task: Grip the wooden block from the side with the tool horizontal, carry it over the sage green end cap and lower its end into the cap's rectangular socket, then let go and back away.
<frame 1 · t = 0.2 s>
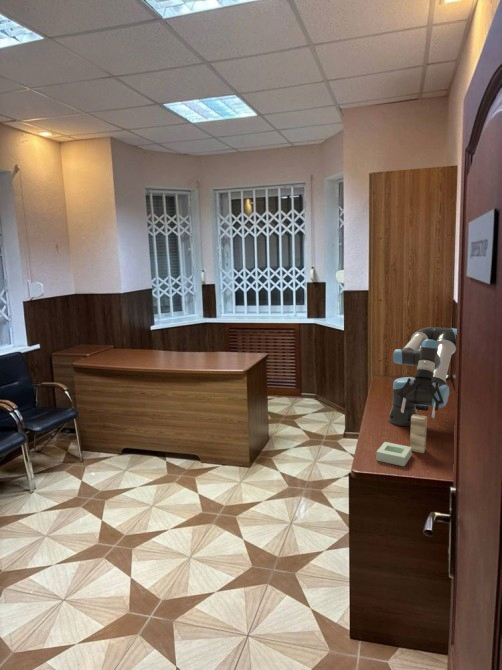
hand: (417, 414, 215), 15 cm above the table, tool tilted 35°, fingers open, 13 cm apart
wooden block: (417, 450, 213), on the table
disk drive: (417, 406, 273), on the table
end cap: (393, 457, 206), on the table
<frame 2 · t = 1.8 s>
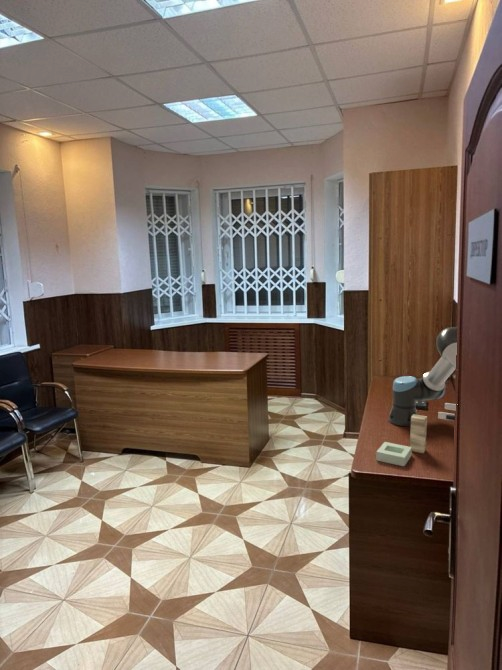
hand: (441, 410, 204), 21 cm above the table, tool horizontal, fingers open, 13 cm apart
nothing on the table moved.
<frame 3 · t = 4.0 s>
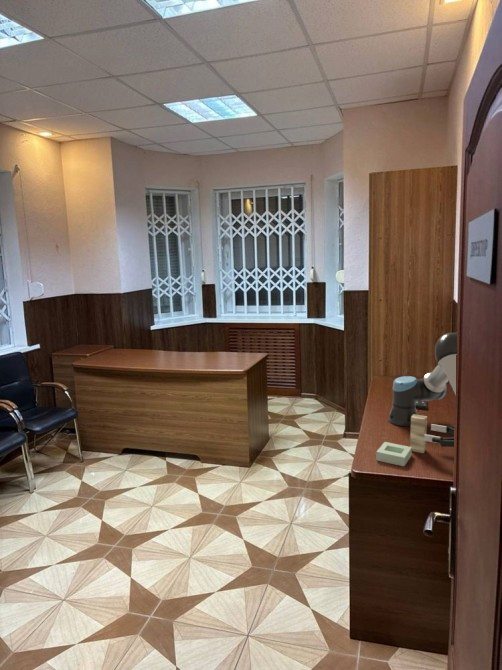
hand: (427, 432, 208), 10 cm above the table, tool horizontal, fingers open, 13 cm apart
nothing on the table moved.
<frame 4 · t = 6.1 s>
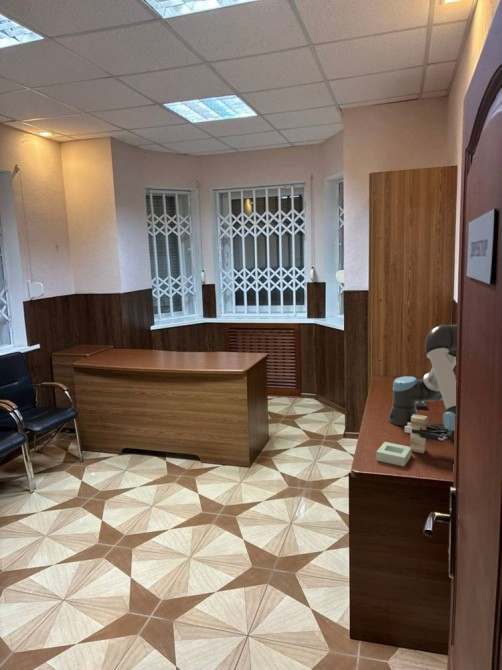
hand: (406, 427, 214), 10 cm above the table, tool horizontal, fingers closed on wooden block, 4 cm apart
wooden block: (417, 450, 213), on the table, touching gripper
everything else where it was.
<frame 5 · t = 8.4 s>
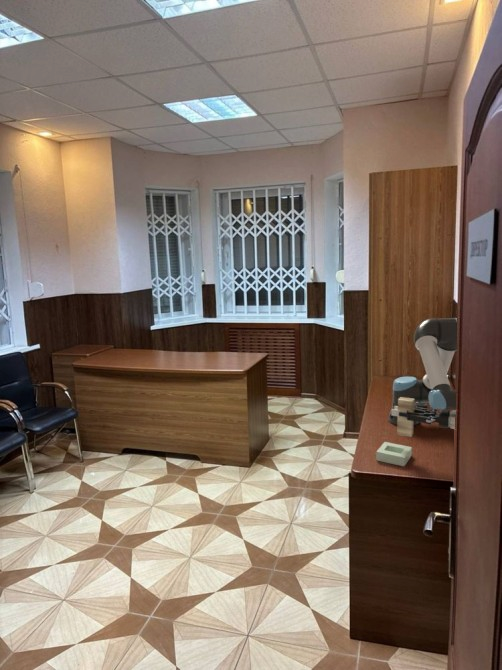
hand: (393, 410, 206), 20 cm above the table, tool horizontal, fingers closed on wooden block, 4 cm apart
wooden block: (405, 434, 205), point 10 cm above the table, touching gripper
everything else where it was.
when the fingers open (12 cm above the table, at t = 11.0 s): wooden block stays where it is, resting on end cap.
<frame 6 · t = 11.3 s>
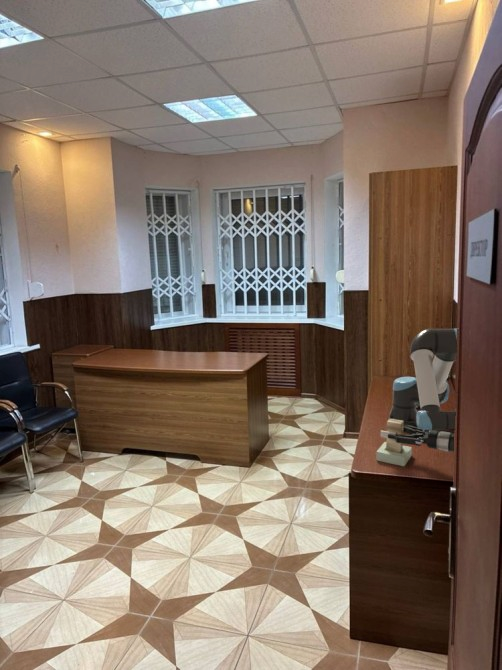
hand: (384, 430, 206), 12 cm above the table, tool horizontal, fingers open, 8 cm apart
wooden block: (394, 455, 205), point 1 cm above the table, touching end cap
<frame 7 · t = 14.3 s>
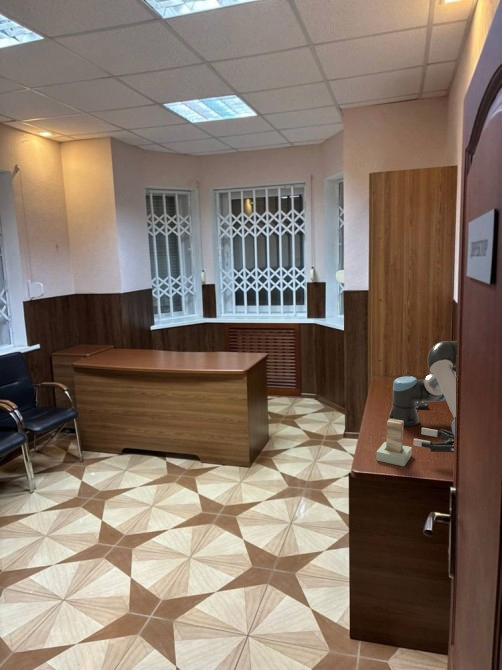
hand: (417, 436, 198), 12 cm above the table, tool horizontal, fingers open, 13 cm apart
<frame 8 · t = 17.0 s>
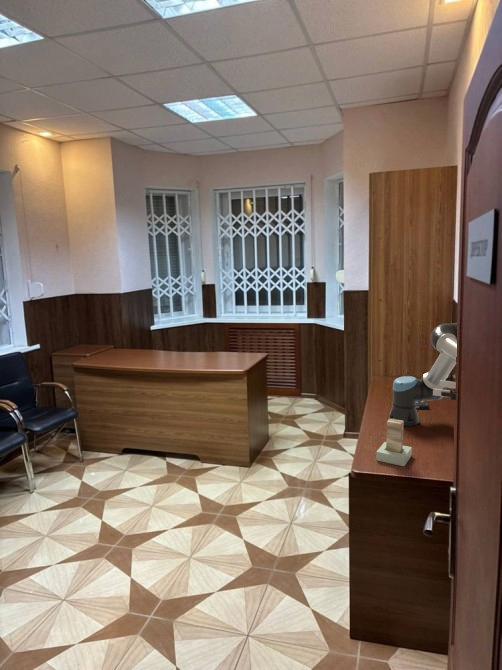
hand: (436, 387, 198), 32 cm above the table, tool horizontal, fingers open, 13 cm apart
at the end: wooden block 0.0 cm off-centre on the end cap, point 1.0 cm above the end cap's base; wooden block tilted 0°; the gripper is holding nothing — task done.
